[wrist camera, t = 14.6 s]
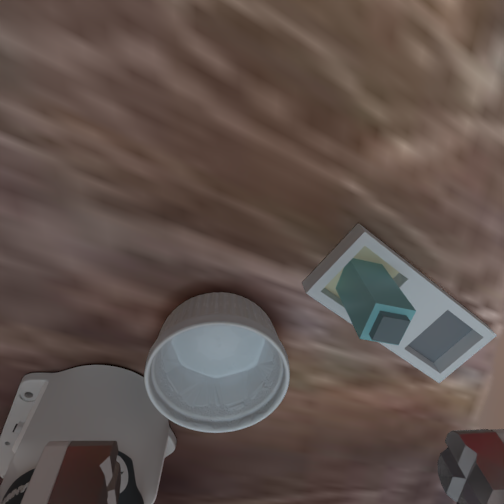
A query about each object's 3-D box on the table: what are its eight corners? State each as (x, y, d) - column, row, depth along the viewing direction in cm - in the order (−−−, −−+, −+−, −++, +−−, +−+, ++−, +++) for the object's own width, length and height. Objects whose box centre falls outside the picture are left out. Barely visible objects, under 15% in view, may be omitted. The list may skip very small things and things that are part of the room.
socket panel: (431, 370, 49) (439, 383, 48) (302, 282, 43) (305, 293, 41) (486, 324, 47) (496, 335, 45) (358, 222, 40) (364, 231, 38)
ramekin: (127, 341, 44) (112, 391, 38) (209, 254, 41) (208, 294, 34) (224, 400, 49) (225, 452, 43) (306, 327, 45) (320, 373, 39)
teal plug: (368, 294, 44) (402, 351, 36) (335, 288, 43) (362, 344, 35) (382, 264, 42) (420, 316, 34) (348, 257, 41) (379, 308, 34)
